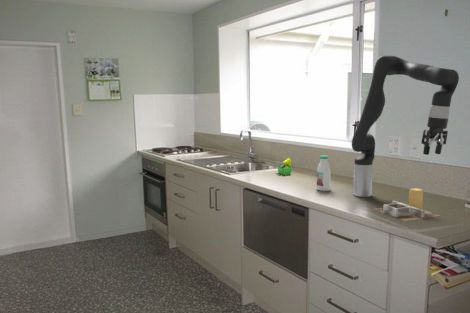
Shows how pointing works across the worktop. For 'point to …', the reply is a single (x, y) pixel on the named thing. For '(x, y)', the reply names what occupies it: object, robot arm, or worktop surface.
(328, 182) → the milk bottle
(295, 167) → the worktop surface
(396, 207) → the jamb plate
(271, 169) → the worktop surface
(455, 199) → the worktop surface
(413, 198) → the block
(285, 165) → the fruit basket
